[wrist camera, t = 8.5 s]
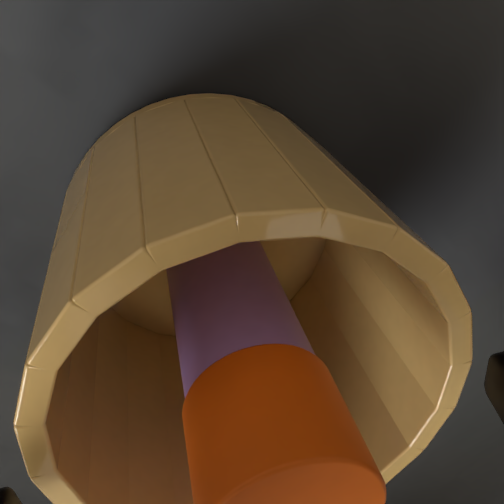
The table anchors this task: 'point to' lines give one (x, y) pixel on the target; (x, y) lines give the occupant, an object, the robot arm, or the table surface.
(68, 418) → the pen pot
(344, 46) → the table surface
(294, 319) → the glue stick
